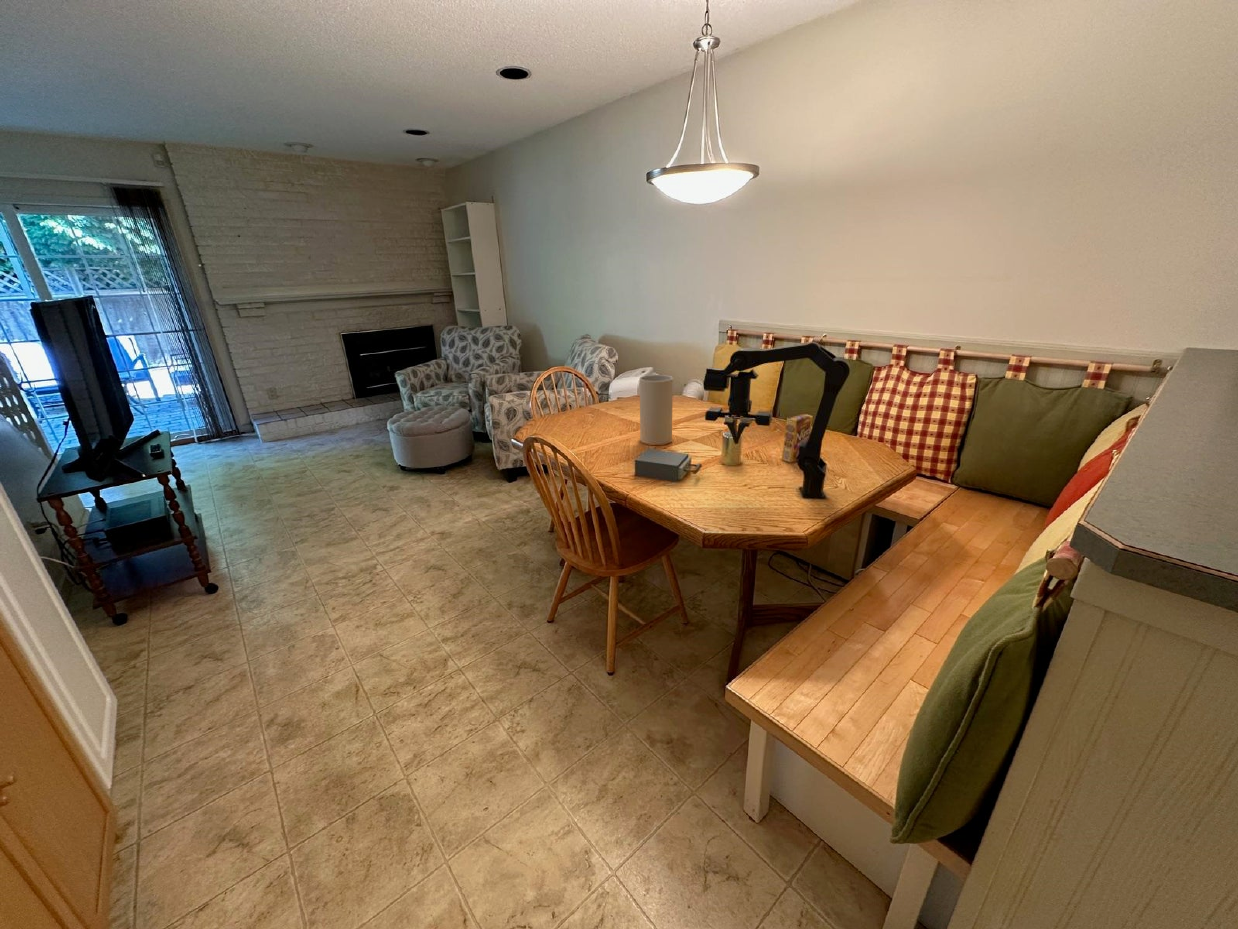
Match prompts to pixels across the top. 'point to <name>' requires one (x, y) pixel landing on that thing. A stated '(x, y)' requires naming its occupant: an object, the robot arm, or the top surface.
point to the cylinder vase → (656, 409)
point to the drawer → (687, 468)
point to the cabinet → (659, 464)
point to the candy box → (795, 435)
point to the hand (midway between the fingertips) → (736, 443)
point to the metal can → (730, 450)
